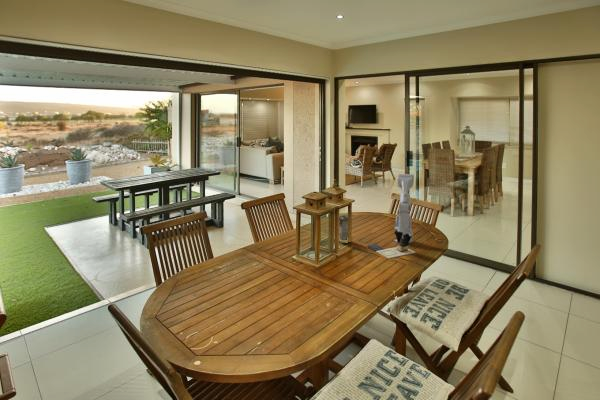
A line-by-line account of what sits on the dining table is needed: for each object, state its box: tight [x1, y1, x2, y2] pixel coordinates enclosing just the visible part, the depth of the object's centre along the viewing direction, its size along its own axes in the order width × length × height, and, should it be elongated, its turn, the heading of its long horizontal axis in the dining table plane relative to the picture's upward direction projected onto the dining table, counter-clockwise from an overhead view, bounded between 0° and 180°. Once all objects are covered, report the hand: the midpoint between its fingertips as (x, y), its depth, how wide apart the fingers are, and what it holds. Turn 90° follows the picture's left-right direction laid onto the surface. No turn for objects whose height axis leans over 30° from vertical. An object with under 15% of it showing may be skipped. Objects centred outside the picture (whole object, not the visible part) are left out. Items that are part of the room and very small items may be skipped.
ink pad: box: [366, 243, 384, 252], centre depth 223 cm, size 7×7×1 cm
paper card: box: [375, 246, 417, 259], centre depth 216 cm, size 20×12×1 cm, turn 114°
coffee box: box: [339, 215, 349, 240], centre depth 235 cm, size 9×6×16 cm
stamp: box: [396, 238, 409, 252], centre depth 217 cm, size 5×4×7 cm
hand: (402, 244), depth 217 cm, fingers open, 6 cm apart
